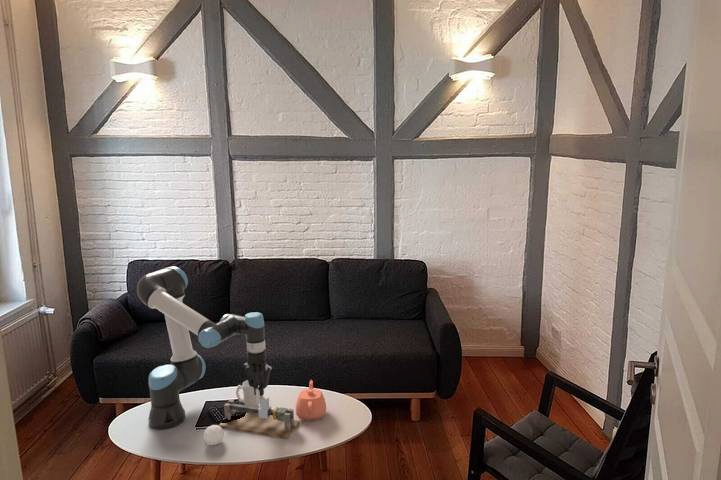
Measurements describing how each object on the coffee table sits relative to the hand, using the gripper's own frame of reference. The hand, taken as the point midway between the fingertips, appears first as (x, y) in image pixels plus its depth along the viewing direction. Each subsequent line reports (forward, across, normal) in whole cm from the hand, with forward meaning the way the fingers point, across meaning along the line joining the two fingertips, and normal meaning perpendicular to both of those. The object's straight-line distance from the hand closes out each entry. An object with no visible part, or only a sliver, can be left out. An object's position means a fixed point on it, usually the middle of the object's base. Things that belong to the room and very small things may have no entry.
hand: (259, 402), depth 222 cm
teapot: (+11, +17, +14) cm, 25 cm away
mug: (+11, -13, +12) cm, 21 cm away
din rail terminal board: (+11, -1, 0) cm, 11 cm away
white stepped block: (+6, +2, 0) cm, 6 cm away
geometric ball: (+11, -12, -17) cm, 24 cm away
